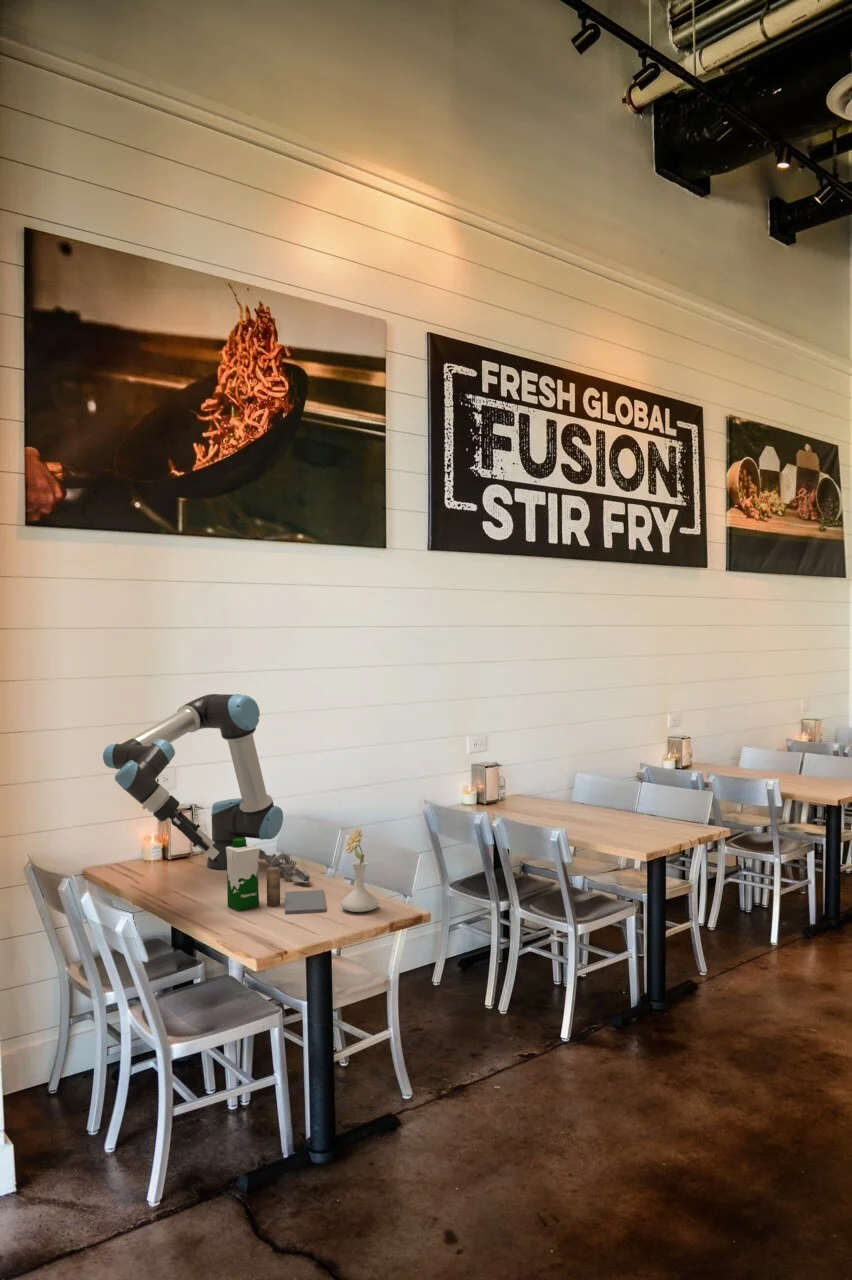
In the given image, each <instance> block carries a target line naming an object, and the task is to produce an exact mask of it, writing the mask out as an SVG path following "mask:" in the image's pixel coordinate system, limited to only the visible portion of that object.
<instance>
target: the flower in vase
mask: <svg viewBox="0 0 852 1280" xmlns="http://www.w3.org/2000/svg"><path fill="white" fill-rule="evenodd" d="M363 834H364V833H363V831H362V829H361V827H358V828H355V829H353V832H350V833H349V837H348V839H347V841H346V842H345V843H346V846H345V851H347V854H352V853H354V856H355V857H356V858H357V859H358V861H353V862H351V863H350V864H351V866H352V867H353V869H354V873H355V887H354V889H353V890H352V891H351V892H350V893H348V894H347V895H346V896H345V897H344V898H343V899H342V901H341V903H340V907H341V908H342V909H343V910H345V911H349V912H355V913H356V912H357V913H364V912H370V911H373V910H375V909H376V908H378V907H379V904H380V901H379V900H378V898H377V897H375V896H374V895H373V894H372V893H371V892H369V891H368V890H367V889H366V887H365V884H364V882H365V881H364V879H365V878H364V876H365V872H366V871H365V870H366V868H367V866H368V865H369V862H367V861H365V860H364V857H365V854H363V850H362V847H361V843H362V839H363ZM357 848H359V850H360V852H359V851H358V850H357ZM359 860H360V861H359Z"/></svg>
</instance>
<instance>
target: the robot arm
mask: <svg viewBox="0 0 852 1280" xmlns="http://www.w3.org/2000/svg"><path fill="white" fill-rule="evenodd" d="M260 715H261V713H260V707H259V705H258V703H257V701H256V700H255V699H254V698H253V697H251V696H249V695H246V694H239V693H236V694H227V693H226V694H217V693H211V694H206V695H203V696H199V697H197V698H195V699H194V700H190V701H189V702H187V703H184V704H183V705H182V706H180V707H178V709H177V711H176V713H173V714H172V715H170V716H168V717H167V718H165V719H162V720H161V721H160V722H158V723H155V724H154V725H153V726H150V727H149V728H148V729H146V730H143V731H142V732H140V733H138V734H136V735H135V736H133V737H131V738H130V739H128V740H126V741H125V742H122V743H111V744H109V745H107V746H106V747H105V748H104V750H103V752H102V753H103V754H102V759H103V762H104V765H105V766H106V767H107V768H110V769H115V770H118V771H117V772H116V773H115V776H114V780H115V782H116V783H117V785H119V786H120V787H121V788H122V790H124V791H125V792H127V793H128V794H129V795H130V796H131V797H133V799H134V800H136V801H137V802H138V803H140V805H142V807H141V808H142V809H143V810H145V809H146V810H147V811H149V813H152V814H153V817H155V818H156V819H157V820H158V821H159V822H160V823H161V822H165V821H167V820H168V819H170V822H171V824H172V826H174V827H175V828H177V830H178V831H180V832H181V833H182V834H183V835H184V836H185V837H187V839H188V840H189V841H190V842H191V843H192V847H194V848H196V847H197V848H199V850H201V851H202V852H203V853H204V854H205V855H207V860H206V864H207V865H206V866H207V867H208V868H209V869H213V870H227V854H226V847H229V846H233V839H235V838H245V839H246V838H247V839H248V838H249V839H259V840H260V841H261V840H272V839H274V838H276V837H277V836H278V834H279V833H280V831H281V829H282V825H283V822H284V813H283V812H284V811H283V809H282V808H281V807H279V806H277V805H274V800H273V797H272V796H271V795H269V794H267V790H266V785H265V782H264V777H263V772H262V769H261V764H260V760H259V756H258V752H257V748H256V744H255V743H256V742H255V738H254V735H253V734H254V733H255V732H256V730H257V726H258V725H259V722H260ZM203 729H219V731H220V733H221V734H220V735H221V738H222V739H223V740H225V741H227V744H228V747H229V753H230V755H231V760H232V764H233V768H234V772H235V776H236V781H237V784H238V788H239V793H240V796H241V798H239V797H238V798H229V799H223V800H218V801H216V802H214V803H213V805H212V807H211V814H210V815H211V837H209V836H208V835H207V834H206V833H205V832H204V831H203V830H202V829H201V826H200V825H199V823H197V824H196V823H194V822H193V821H192V820H191V819H189V818H188V817H187V815H185V813H183V812H182V811H181V810H180V811H179V809H178V808H179V806H180V801H179V800H178V799H177V798H175V797H174V796H173V795H170V792H169V791H168V790H167V789H166V788H164V787H163V786H162V784H159V782H158V781H157V780H156V779H157V778H158V777H159V776H160V774H162V772H163V771H164V770H165V769H166V767H167V766H168V765H169V764H170V763H171V761H172V760H173V759H174V757H175V755H176V750H175V748H174V746H173V745H172V743H173V742H174V741H176V740H178V739H180V738H181V737H182V736H184V735H186V734H187V733H195V732H197V731H198V730H203Z"/></svg>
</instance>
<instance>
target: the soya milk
mask: <svg viewBox="0 0 852 1280" xmlns="http://www.w3.org/2000/svg"><path fill="white" fill-rule="evenodd" d="M260 849H261V848H260V847H259V846H257V845H255V844H250V843H248V842H247V838H246V837H245V838H235V839H233V846H229V847H226V854H227V869H226V873H227V874H226V875H227V876H226V877H227V878H226V879H227V901H226V902H227V906H228V907H229V908H232V909H233V910H236V911H238V912H241V911H246V910H249V909H250V910H251V909H255V908H259V907H260V898H259V897H260V894H259V892H260V891H259V851H260Z"/></svg>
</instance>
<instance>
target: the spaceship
mask: <svg viewBox="0 0 852 1280" xmlns="http://www.w3.org/2000/svg"><path fill="white" fill-rule="evenodd" d="M258 860H264V861H265V862H266V864H268V868H270V867H278V868H280V878H281V877H284V878H283V879H284V880H286V881H287V882H290V881H291V879H292V882H297V883H301V884H306V885H307V884H308V885H309V884H311V882H310V880H312V877H311V875H310V873H309V872H308V870H305V869H304V870H303V869H302V870H300V868H298V867H296V864H297V861H295V860H293V859H291V857H290V856H289V855H288V854H286V853H280V854H278V855H277V854H276V853H272V855H271V854H269V855H268V854H267V853H266V852H265V851H264V850H262V849H261V848H260V851H259V858H258Z"/></svg>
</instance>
